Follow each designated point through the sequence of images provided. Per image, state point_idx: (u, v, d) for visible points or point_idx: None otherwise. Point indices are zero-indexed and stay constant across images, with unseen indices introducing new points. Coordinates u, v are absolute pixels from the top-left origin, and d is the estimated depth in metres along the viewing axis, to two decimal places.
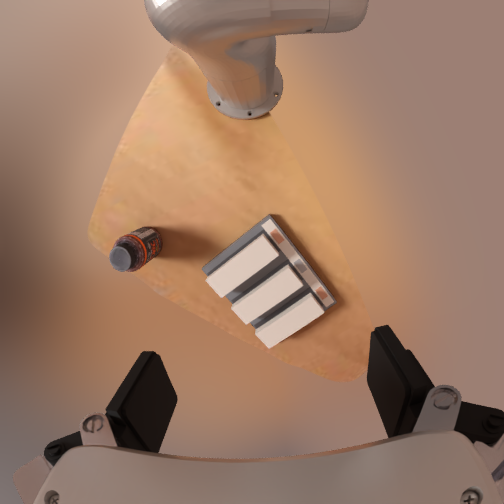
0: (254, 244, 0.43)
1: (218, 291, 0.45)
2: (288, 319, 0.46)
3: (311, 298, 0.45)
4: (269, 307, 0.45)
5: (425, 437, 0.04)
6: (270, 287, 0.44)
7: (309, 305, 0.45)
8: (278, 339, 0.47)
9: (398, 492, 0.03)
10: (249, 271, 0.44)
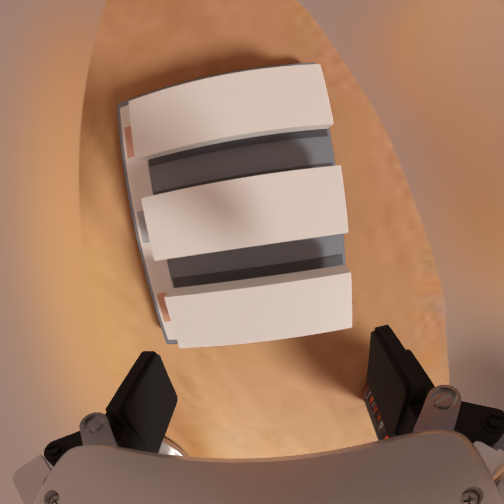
0: (203, 343, 0.18)
1: (345, 291, 0.17)
2: (220, 119, 0.14)
3: (137, 153, 0.15)
4: (250, 180, 0.15)
5: (425, 437, 0.04)
6: (218, 235, 0.16)
7: (150, 136, 0.15)
8: (280, 74, 0.13)
9: (398, 492, 0.03)
10: (245, 298, 0.17)
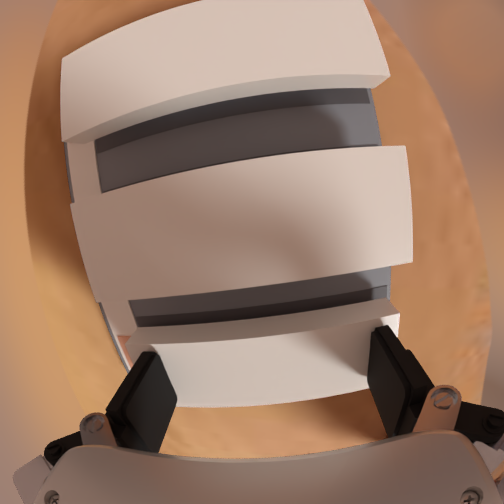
0: (184, 403, 0.12)
1: None
2: (193, 63, 0.07)
3: (65, 133, 0.08)
4: (246, 168, 0.08)
5: (425, 437, 0.04)
6: (189, 267, 0.09)
7: (83, 102, 0.07)
8: None
9: (398, 492, 0.03)
10: (241, 353, 0.11)
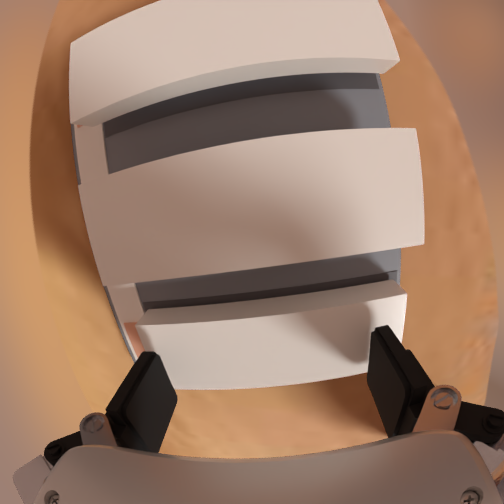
0: (193, 386, 0.12)
1: (396, 319, 0.10)
2: (205, 44, 0.07)
3: (74, 114, 0.08)
4: (259, 146, 0.08)
5: (425, 437, 0.04)
6: (200, 247, 0.09)
7: (93, 84, 0.07)
8: None
9: (398, 492, 0.03)
10: (252, 332, 0.11)
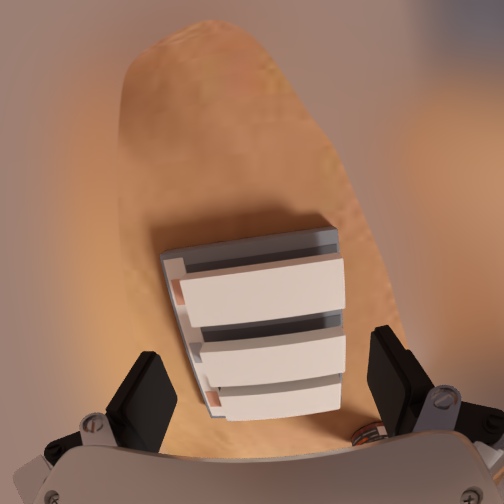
0: (244, 419, 0.25)
1: (336, 392, 0.23)
2: (260, 307, 0.20)
3: (193, 324, 0.21)
4: (281, 348, 0.21)
5: (425, 437, 0.04)
6: (257, 376, 0.22)
7: (203, 313, 0.20)
8: (309, 271, 0.19)
9: (398, 492, 0.03)
10: (273, 398, 0.24)
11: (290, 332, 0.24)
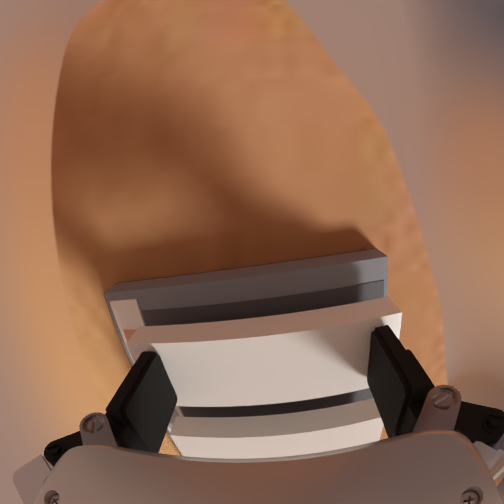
0: None
1: None
2: (258, 388, 0.11)
3: None
4: (290, 436, 0.12)
5: (425, 437, 0.04)
6: None
7: None
8: (344, 336, 0.10)
9: (398, 492, 0.03)
10: None
11: (303, 402, 0.15)
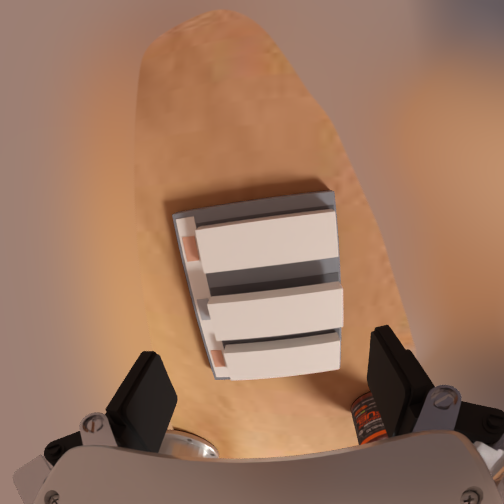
0: (247, 378, 0.28)
1: (336, 350, 0.26)
2: (264, 253, 0.24)
3: (205, 270, 0.24)
4: (283, 299, 0.23)
5: (425, 437, 0.04)
6: (260, 329, 0.24)
7: (214, 259, 0.24)
8: (306, 221, 0.23)
9: (398, 492, 0.03)
10: (275, 354, 0.27)
11: None
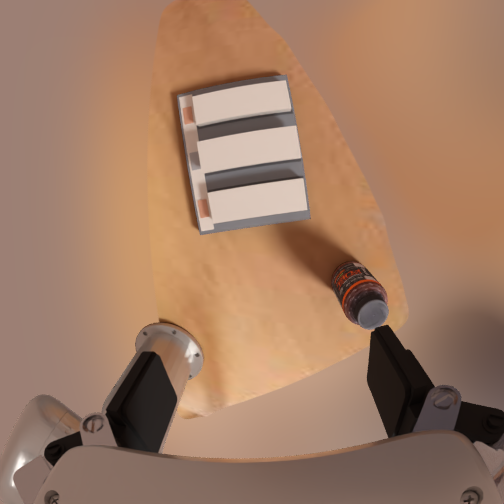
0: (227, 219, 0.34)
1: (301, 188, 0.33)
2: (238, 107, 0.30)
3: (197, 122, 0.31)
4: (252, 133, 0.30)
5: (425, 437, 0.04)
6: (236, 159, 0.31)
7: (204, 114, 0.31)
8: (266, 86, 0.29)
9: (398, 492, 0.03)
10: (250, 191, 0.33)
11: None
